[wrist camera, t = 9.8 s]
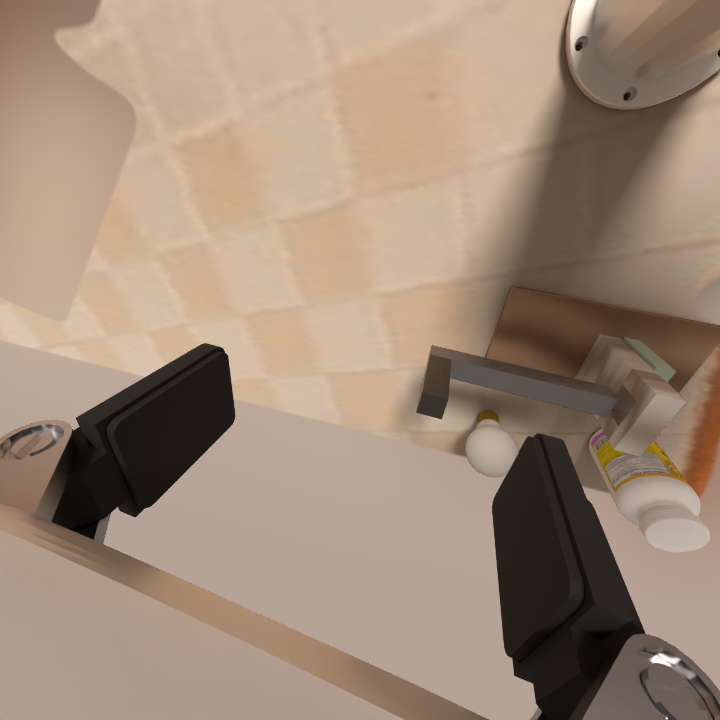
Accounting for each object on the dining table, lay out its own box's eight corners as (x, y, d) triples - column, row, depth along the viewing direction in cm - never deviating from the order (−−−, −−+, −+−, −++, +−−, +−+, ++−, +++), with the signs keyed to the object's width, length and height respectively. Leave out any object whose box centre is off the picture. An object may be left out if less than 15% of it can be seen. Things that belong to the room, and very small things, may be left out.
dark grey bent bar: (431, 345, 31) (421, 392, 23) (609, 386, 28) (660, 455, 20) (427, 362, 32) (416, 412, 24) (597, 404, 29) (642, 475, 21)
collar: (624, 337, 33) (656, 366, 27) (640, 340, 32) (676, 371, 27) (593, 386, 36) (616, 421, 30) (607, 390, 36) (633, 426, 30)
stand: (511, 286, 34) (533, 329, 24) (722, 325, 30) (859, 397, 20) (478, 375, 40) (483, 440, 30) (650, 417, 37) (725, 509, 26)
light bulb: (494, 390, 41) (502, 442, 32) (519, 421, 42) (533, 479, 33) (456, 408, 44) (454, 460, 35) (480, 437, 45) (484, 494, 36)
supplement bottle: (648, 461, 39) (718, 564, 28) (586, 461, 42) (629, 555, 31) (654, 419, 37) (733, 515, 26) (587, 421, 39) (634, 510, 28)
